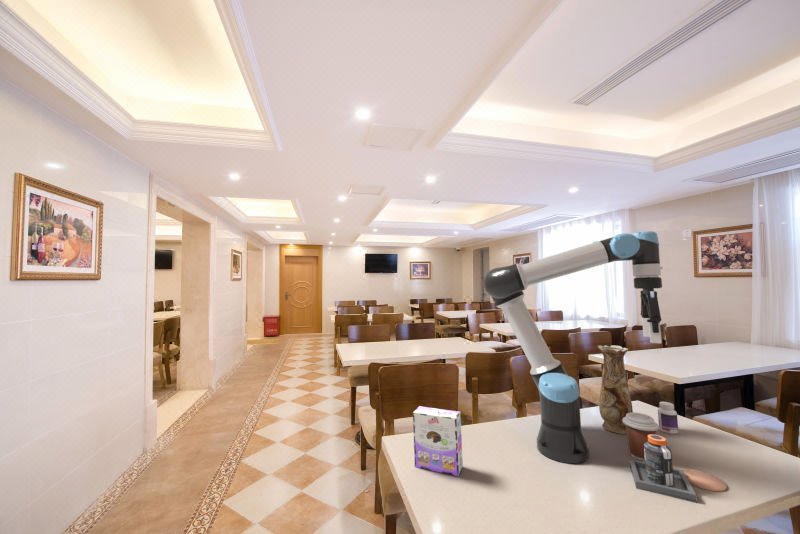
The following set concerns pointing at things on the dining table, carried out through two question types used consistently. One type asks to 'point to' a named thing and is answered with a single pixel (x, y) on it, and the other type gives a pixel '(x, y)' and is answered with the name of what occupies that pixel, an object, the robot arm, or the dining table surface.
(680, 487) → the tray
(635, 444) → the coffee cup
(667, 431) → the pill bottle
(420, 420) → the candy box
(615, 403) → the vase
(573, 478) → the dining table surface
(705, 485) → the peach flat disc
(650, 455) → the pill bottle
